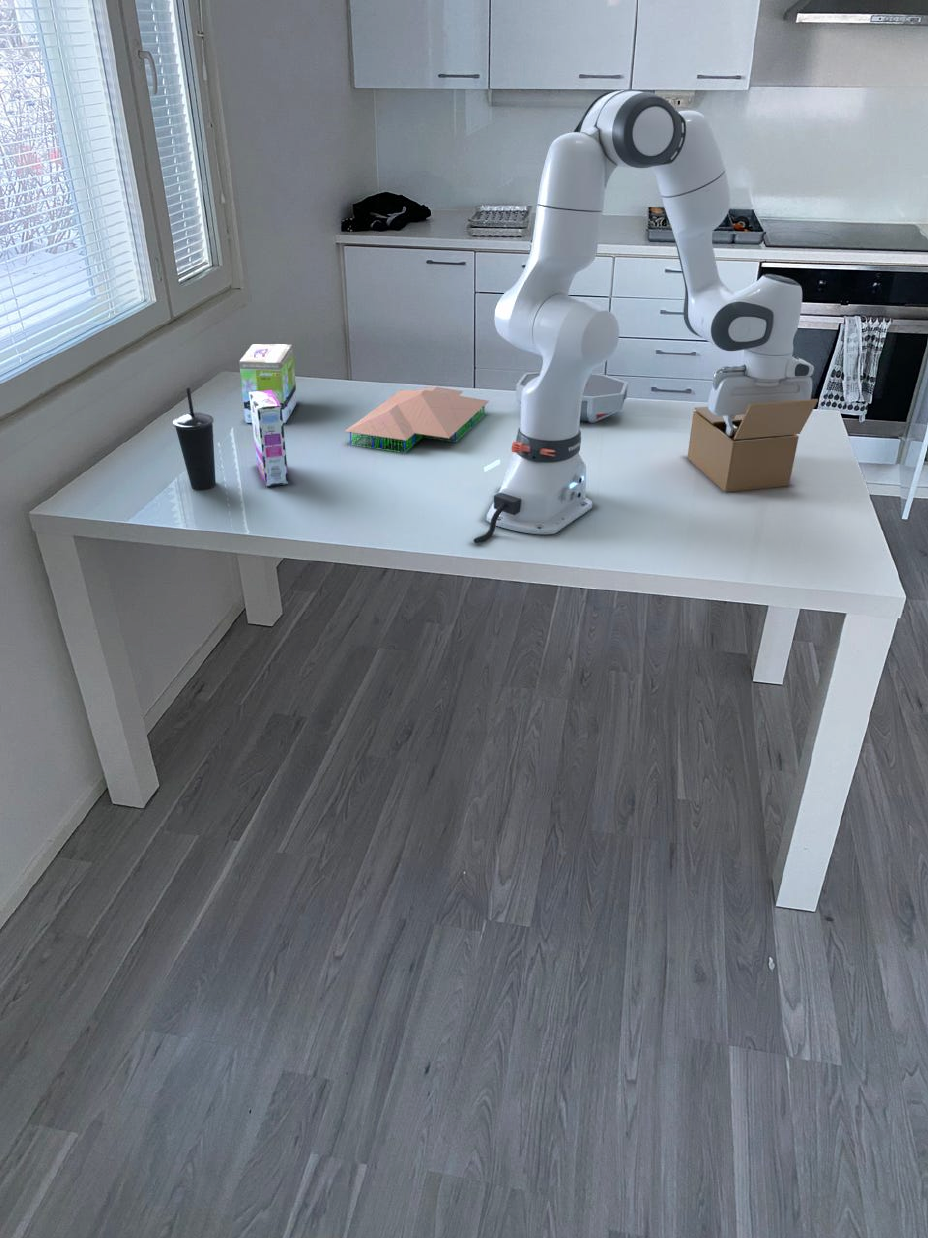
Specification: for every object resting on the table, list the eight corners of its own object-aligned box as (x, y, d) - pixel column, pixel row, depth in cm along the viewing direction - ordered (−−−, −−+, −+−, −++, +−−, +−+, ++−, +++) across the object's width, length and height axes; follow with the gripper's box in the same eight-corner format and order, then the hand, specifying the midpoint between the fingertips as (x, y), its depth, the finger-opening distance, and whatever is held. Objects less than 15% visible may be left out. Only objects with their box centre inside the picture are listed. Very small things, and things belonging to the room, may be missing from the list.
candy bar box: (290, 484, 189) (282, 405, 180) (266, 487, 188) (256, 408, 179) (280, 464, 198) (272, 388, 189) (256, 467, 197) (247, 390, 188)
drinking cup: (189, 495, 184) (172, 397, 174) (180, 481, 190) (163, 385, 180) (227, 488, 187) (213, 390, 177) (217, 474, 193) (203, 379, 182)
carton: (788, 485, 189) (799, 432, 183) (725, 492, 186) (733, 438, 180) (746, 452, 204) (755, 402, 198) (687, 458, 201) (694, 407, 195)
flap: (799, 432, 183) (799, 433, 183) (733, 438, 180) (734, 439, 180) (817, 398, 176) (818, 400, 175) (749, 404, 173) (750, 405, 173)
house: (492, 410, 226) (493, 377, 222) (441, 459, 200) (441, 423, 196) (406, 399, 233) (404, 366, 229) (345, 445, 207) (343, 409, 203)
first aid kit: (511, 421, 220) (617, 431, 214) (512, 390, 216) (620, 399, 210) (527, 397, 234) (627, 406, 229) (528, 368, 230) (630, 376, 225)
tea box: (287, 424, 218) (281, 361, 210) (244, 423, 218) (236, 360, 210) (298, 402, 231) (292, 342, 223) (257, 402, 231) (250, 342, 223)
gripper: (722, 371, 174) (711, 442, 181) (822, 366, 178) (806, 436, 185) (708, 361, 179) (697, 431, 186) (805, 357, 183) (790, 425, 190)
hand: (752, 433), depth 186 cm, fingers open, 8 cm apart
